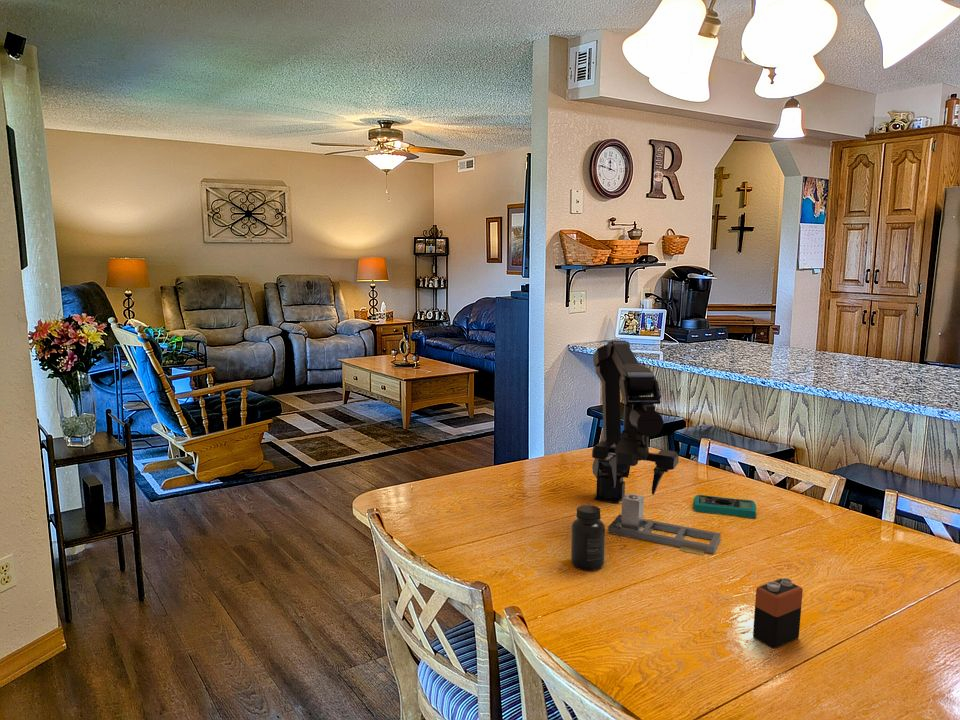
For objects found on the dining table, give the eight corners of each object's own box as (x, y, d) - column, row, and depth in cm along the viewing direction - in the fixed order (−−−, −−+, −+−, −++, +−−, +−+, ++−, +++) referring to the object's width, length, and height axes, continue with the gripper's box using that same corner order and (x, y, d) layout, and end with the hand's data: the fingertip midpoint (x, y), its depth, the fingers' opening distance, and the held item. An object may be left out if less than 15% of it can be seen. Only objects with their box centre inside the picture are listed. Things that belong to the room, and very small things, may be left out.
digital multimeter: (693, 503, 178) (694, 492, 177) (754, 510, 173) (755, 499, 173) (692, 513, 171) (693, 502, 170) (756, 520, 166) (757, 509, 166)
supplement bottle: (606, 559, 143) (608, 505, 142) (601, 573, 137) (603, 516, 135) (574, 554, 146) (575, 501, 144) (567, 568, 139) (569, 512, 137)
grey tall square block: (620, 531, 158) (622, 497, 157) (625, 525, 162) (627, 492, 160) (637, 534, 156) (639, 500, 155) (642, 528, 160) (644, 495, 159)
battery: (751, 637, 115) (755, 581, 113) (777, 626, 118) (781, 572, 116) (774, 650, 111) (778, 592, 109) (800, 638, 114) (804, 582, 113)
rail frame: (605, 535, 156) (606, 529, 156) (619, 520, 165) (619, 514, 164) (712, 557, 145) (712, 550, 145) (720, 539, 154) (720, 533, 154)
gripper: (585, 427, 153) (582, 494, 155) (669, 439, 144) (665, 509, 146) (600, 417, 162) (598, 480, 165) (680, 427, 154) (677, 493, 156)
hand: (633, 490), depth 158 cm, fingers open, 9 cm apart
